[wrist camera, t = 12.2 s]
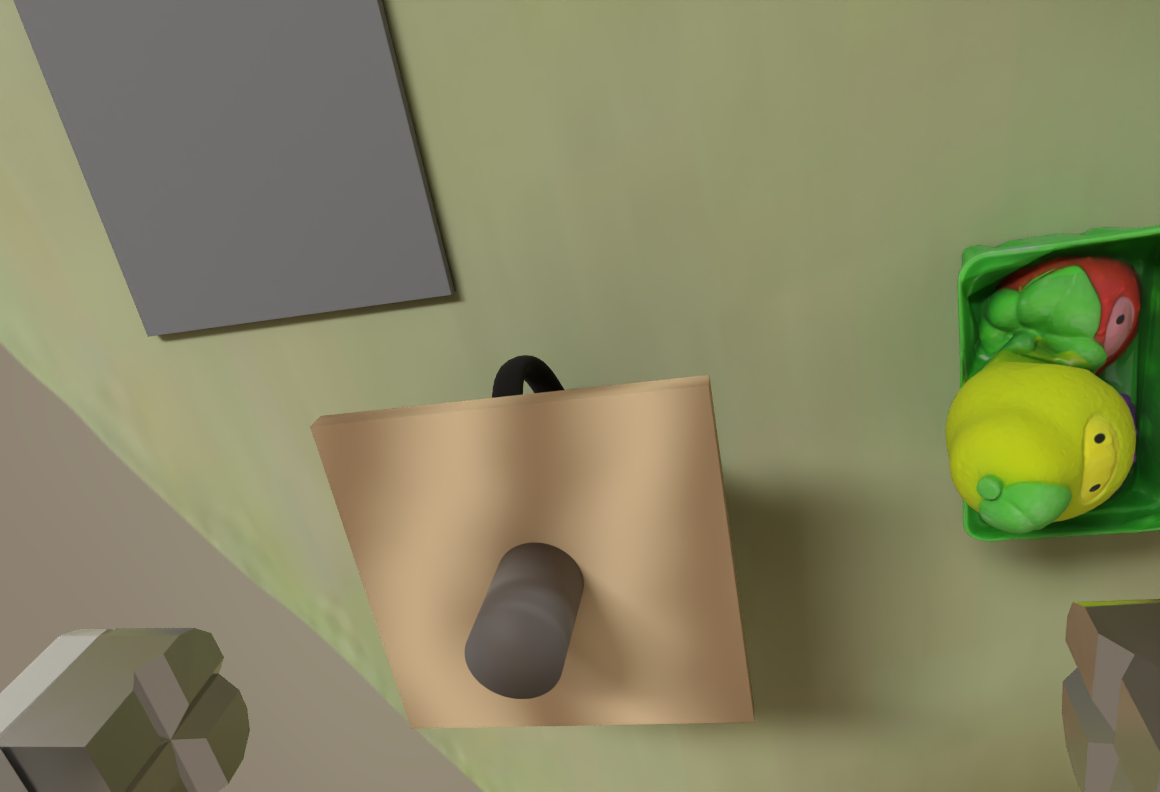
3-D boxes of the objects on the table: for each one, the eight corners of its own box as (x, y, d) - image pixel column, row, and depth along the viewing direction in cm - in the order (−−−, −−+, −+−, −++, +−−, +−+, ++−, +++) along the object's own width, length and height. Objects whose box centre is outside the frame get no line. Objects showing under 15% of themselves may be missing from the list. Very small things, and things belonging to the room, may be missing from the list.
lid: (709, 374, 26) (704, 448, 22) (753, 705, 31) (756, 818, 27) (320, 415, 29) (248, 488, 25) (418, 713, 34) (372, 816, 30)
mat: (356, -101, 32) (351, -102, 31) (454, 291, 37) (451, 294, 37) (16, -15, 35) (7, -15, 34) (154, 332, 41) (147, 336, 40)
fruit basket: (1133, 462, 36) (1291, 645, 26) (907, 482, 38) (971, 659, 28) (1148, 187, 31) (1345, 276, 21) (892, 226, 33) (961, 324, 23)
